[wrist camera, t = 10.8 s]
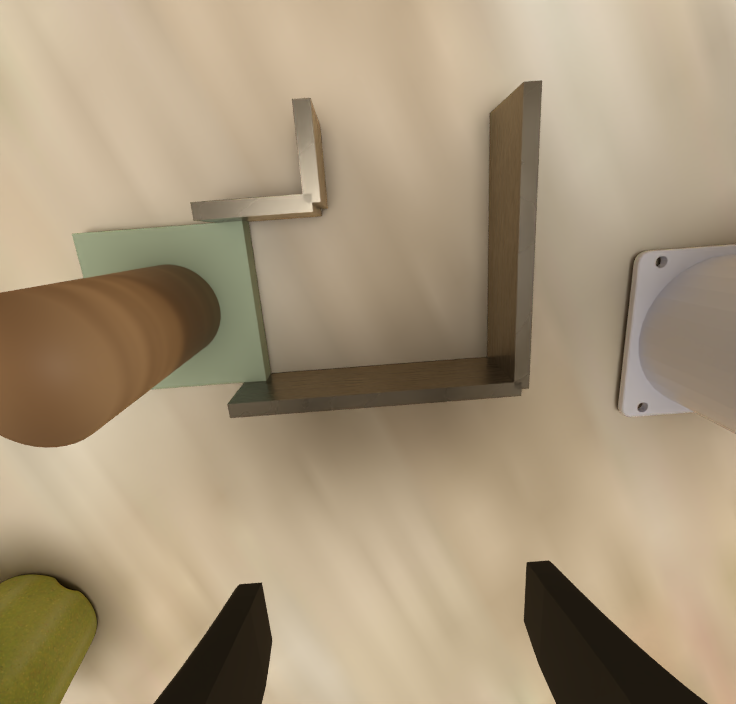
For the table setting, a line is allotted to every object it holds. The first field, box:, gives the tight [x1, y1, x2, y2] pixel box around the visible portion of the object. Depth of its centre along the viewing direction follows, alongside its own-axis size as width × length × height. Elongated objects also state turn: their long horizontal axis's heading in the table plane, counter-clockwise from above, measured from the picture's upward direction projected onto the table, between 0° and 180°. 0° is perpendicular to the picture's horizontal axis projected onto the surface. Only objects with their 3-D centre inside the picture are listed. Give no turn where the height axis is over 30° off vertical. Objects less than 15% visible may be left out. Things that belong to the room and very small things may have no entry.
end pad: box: [72, 221, 271, 390], centre depth 18 cm, size 7×7×1 cm
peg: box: [0, 264, 221, 447], centre depth 14 cm, size 4×4×8 cm
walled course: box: [190, 81, 542, 418], centre depth 16 cm, size 12×11×4 cm
